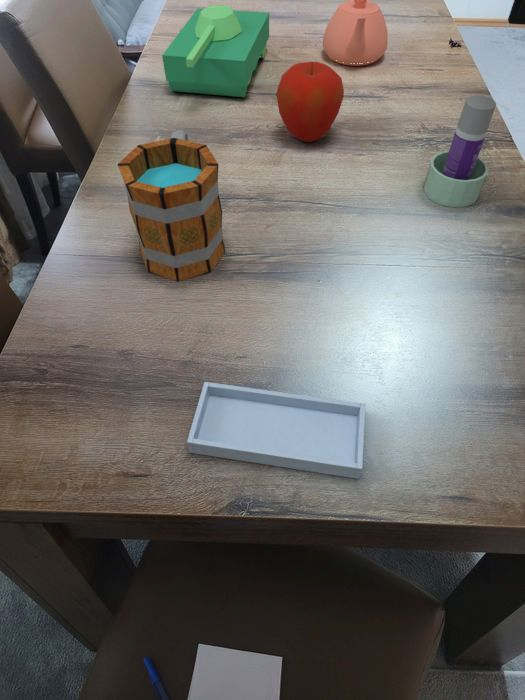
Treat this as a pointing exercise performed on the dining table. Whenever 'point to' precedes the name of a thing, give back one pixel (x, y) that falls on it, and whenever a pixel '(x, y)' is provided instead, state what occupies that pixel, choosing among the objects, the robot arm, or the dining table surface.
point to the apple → (309, 99)
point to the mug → (175, 206)
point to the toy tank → (217, 51)
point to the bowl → (453, 183)
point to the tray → (279, 429)
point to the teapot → (356, 33)
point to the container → (469, 137)
